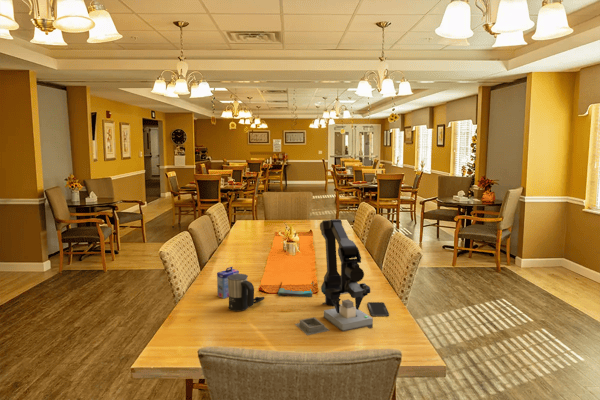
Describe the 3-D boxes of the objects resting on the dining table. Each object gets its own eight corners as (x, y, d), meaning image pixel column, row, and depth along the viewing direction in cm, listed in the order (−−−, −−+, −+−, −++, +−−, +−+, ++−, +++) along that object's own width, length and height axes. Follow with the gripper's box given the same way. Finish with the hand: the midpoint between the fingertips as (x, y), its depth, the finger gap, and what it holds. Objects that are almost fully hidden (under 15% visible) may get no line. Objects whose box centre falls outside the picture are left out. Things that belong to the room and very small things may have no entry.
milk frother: (224, 310, 204) (223, 278, 202) (241, 298, 218) (240, 268, 216) (252, 314, 198) (251, 281, 196) (267, 302, 213) (267, 271, 211)
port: (323, 319, 192) (323, 309, 192) (351, 313, 198) (352, 304, 197) (342, 334, 178) (342, 323, 177) (372, 327, 184) (372, 317, 183)
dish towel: (276, 297, 221) (276, 292, 220) (282, 282, 244) (282, 277, 243) (312, 298, 219) (312, 293, 219) (314, 283, 243) (313, 278, 242)
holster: (294, 326, 185) (294, 319, 185) (316, 321, 190) (316, 315, 189) (307, 337, 175) (307, 330, 174) (330, 332, 179) (330, 325, 178)
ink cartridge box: (223, 299, 217) (222, 270, 215) (216, 296, 221) (215, 267, 219) (239, 294, 224) (239, 265, 222) (232, 291, 228) (232, 263, 226)
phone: (371, 314, 195) (367, 302, 210) (371, 317, 195) (367, 304, 210) (389, 314, 195) (384, 302, 210) (389, 317, 195) (384, 304, 210)
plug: (339, 318, 189) (339, 299, 188) (348, 316, 191) (348, 298, 190) (347, 323, 184) (347, 304, 183) (355, 321, 186) (355, 303, 185)
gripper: (337, 283, 174) (337, 322, 176) (378, 276, 182) (377, 314, 184) (324, 275, 184) (324, 312, 186) (363, 269, 192) (362, 305, 194)
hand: (347, 311), depth 187 cm, fingers open, 9 cm apart
